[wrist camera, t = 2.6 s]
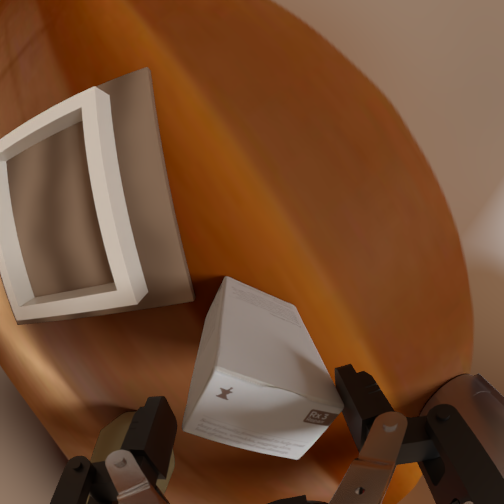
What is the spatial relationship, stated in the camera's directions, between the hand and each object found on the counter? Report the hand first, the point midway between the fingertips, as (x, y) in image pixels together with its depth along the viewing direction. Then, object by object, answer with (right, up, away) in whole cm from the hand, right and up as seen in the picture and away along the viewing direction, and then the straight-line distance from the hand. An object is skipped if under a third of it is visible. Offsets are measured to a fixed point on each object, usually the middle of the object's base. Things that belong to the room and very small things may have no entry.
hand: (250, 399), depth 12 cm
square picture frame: (-16, +10, +8) cm, 20 cm away
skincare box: (0, +2, +10) cm, 11 cm away
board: (-16, +10, +8) cm, 20 cm away
